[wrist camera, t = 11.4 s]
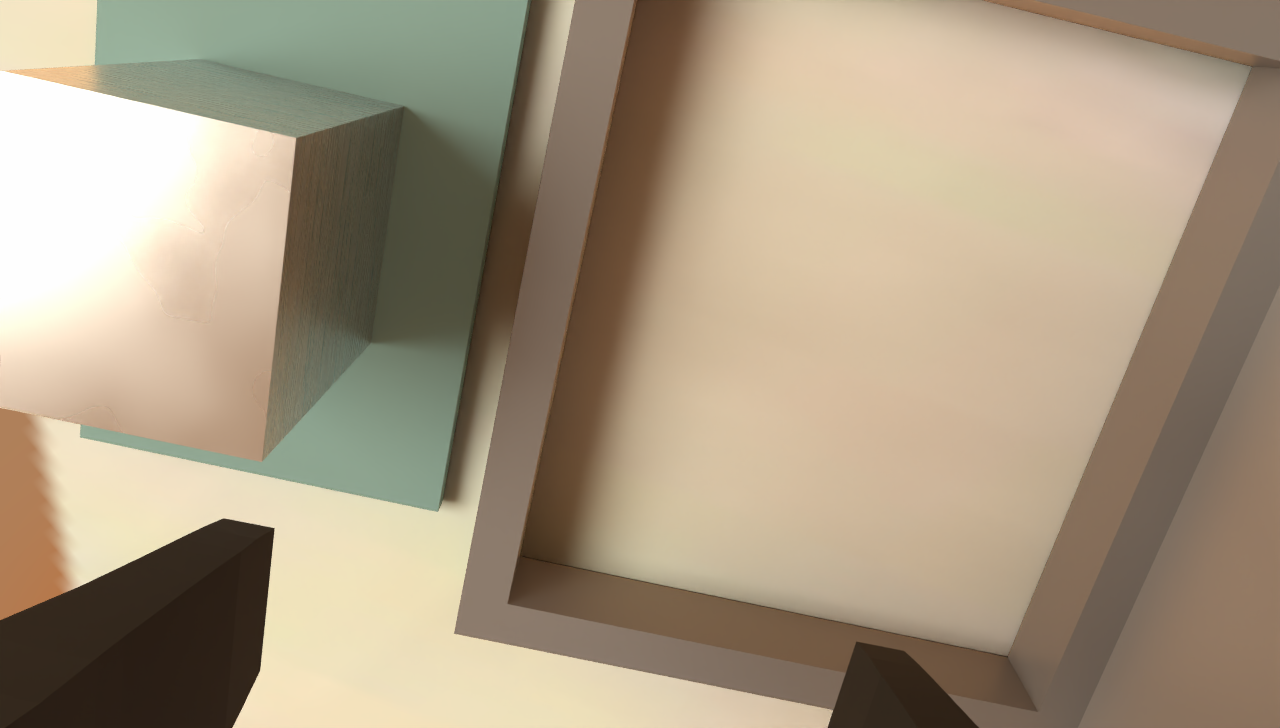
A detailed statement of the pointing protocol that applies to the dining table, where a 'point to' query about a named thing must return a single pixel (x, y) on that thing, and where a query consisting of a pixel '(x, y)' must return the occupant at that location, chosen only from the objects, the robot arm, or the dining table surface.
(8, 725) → the robot arm
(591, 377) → the dining table surface
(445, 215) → the module mat
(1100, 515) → the equipment case
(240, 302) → the block
